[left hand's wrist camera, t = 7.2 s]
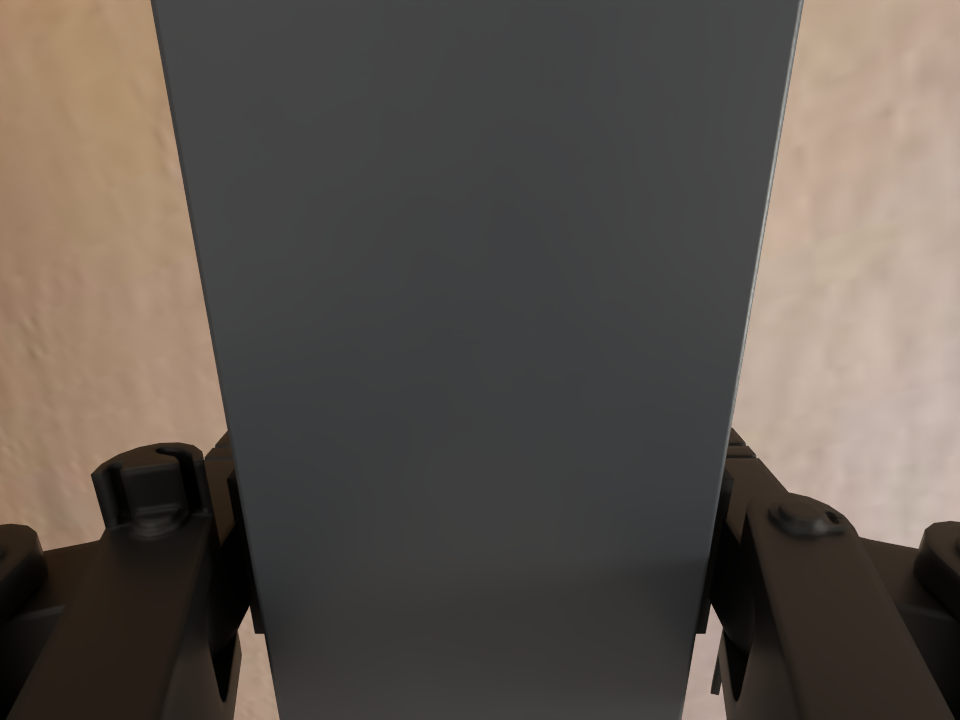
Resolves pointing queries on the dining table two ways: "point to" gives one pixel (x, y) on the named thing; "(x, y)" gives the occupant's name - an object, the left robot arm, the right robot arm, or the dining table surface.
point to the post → (478, 331)
